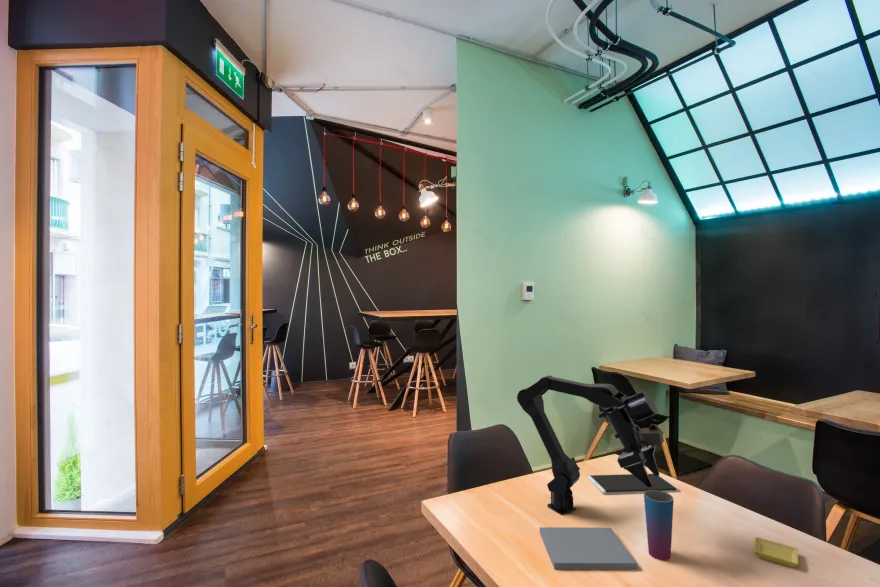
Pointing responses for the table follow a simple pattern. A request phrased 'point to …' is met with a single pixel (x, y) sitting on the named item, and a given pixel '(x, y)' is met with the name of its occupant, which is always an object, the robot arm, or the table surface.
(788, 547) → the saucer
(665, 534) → the cup
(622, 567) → the board
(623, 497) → the table surface
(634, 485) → the black tablet
